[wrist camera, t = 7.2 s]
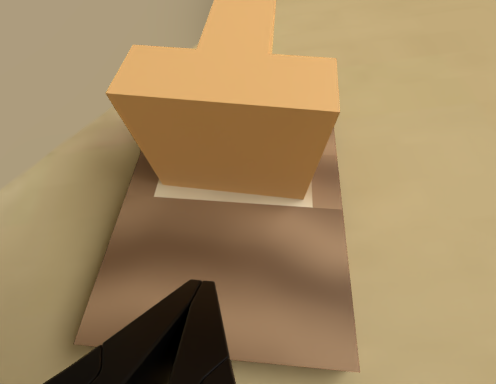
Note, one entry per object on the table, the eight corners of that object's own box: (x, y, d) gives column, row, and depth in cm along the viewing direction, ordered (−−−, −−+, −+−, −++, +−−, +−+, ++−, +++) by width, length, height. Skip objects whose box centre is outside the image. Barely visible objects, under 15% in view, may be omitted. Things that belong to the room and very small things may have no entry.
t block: (303, 199, 17) (339, 112, 10) (162, 185, 18) (105, 93, 11) (305, 98, 22) (331, -11, 15) (194, 89, 23) (168, -18, 16)
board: (349, 368, 14) (360, 372, 13) (89, 342, 15) (73, 344, 13) (325, 101, 24) (329, 88, 22) (170, 93, 24) (165, 80, 23)
